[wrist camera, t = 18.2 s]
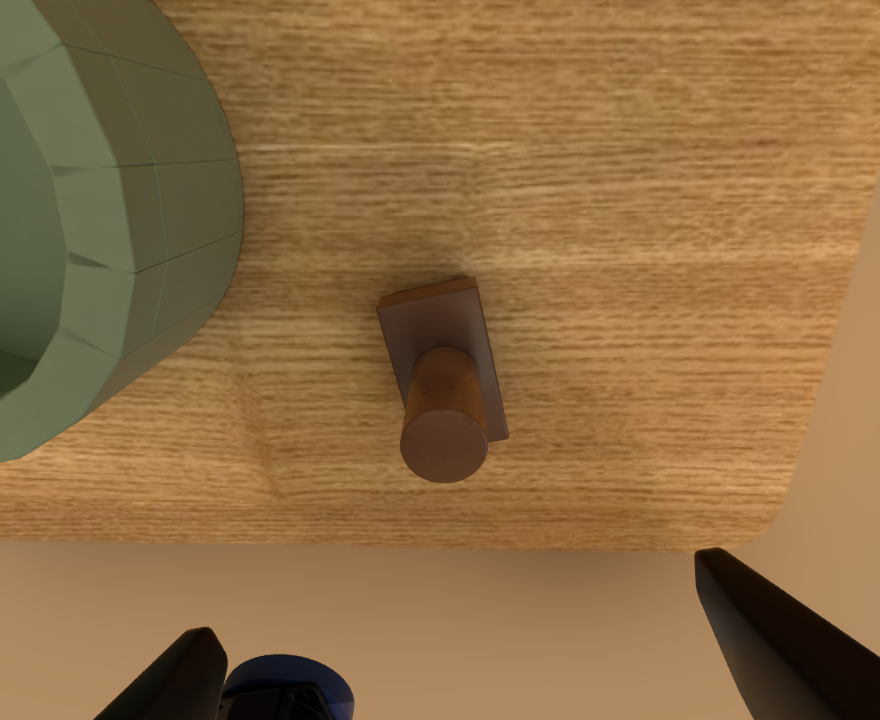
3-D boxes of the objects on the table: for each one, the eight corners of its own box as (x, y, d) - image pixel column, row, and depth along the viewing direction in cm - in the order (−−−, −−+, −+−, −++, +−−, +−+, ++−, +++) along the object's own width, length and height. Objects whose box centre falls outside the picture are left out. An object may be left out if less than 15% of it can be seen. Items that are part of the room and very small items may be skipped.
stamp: (503, 407, 21) (526, 522, 15) (422, 422, 21) (409, 541, 15) (474, 268, 19) (485, 333, 12) (384, 289, 19) (350, 361, 13)
